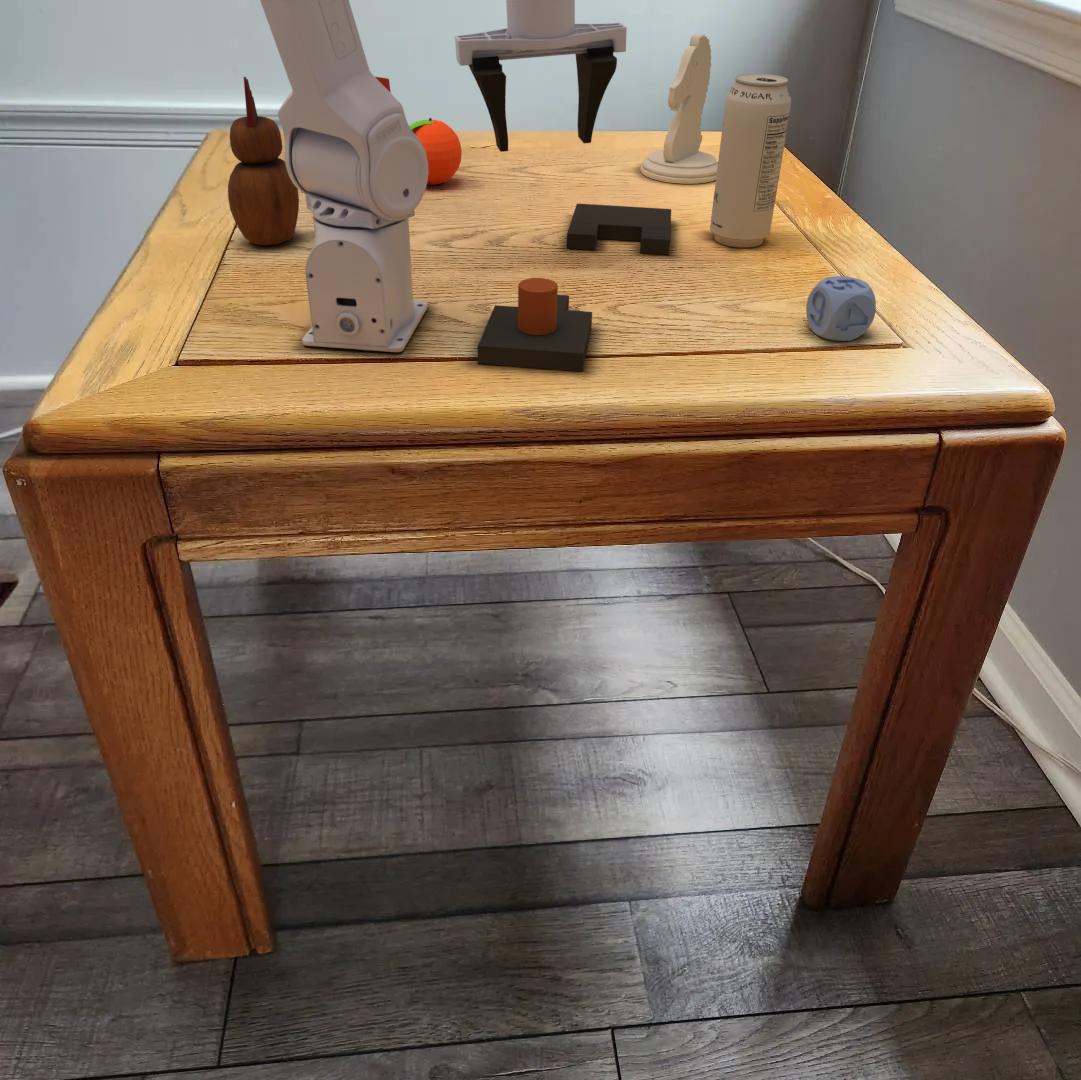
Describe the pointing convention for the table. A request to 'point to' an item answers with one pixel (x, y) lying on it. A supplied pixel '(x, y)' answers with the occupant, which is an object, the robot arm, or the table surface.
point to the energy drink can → (750, 159)
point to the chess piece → (686, 123)
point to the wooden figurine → (260, 180)
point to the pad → (536, 347)
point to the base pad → (620, 227)
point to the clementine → (438, 149)
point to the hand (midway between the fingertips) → (543, 144)
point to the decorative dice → (840, 308)
